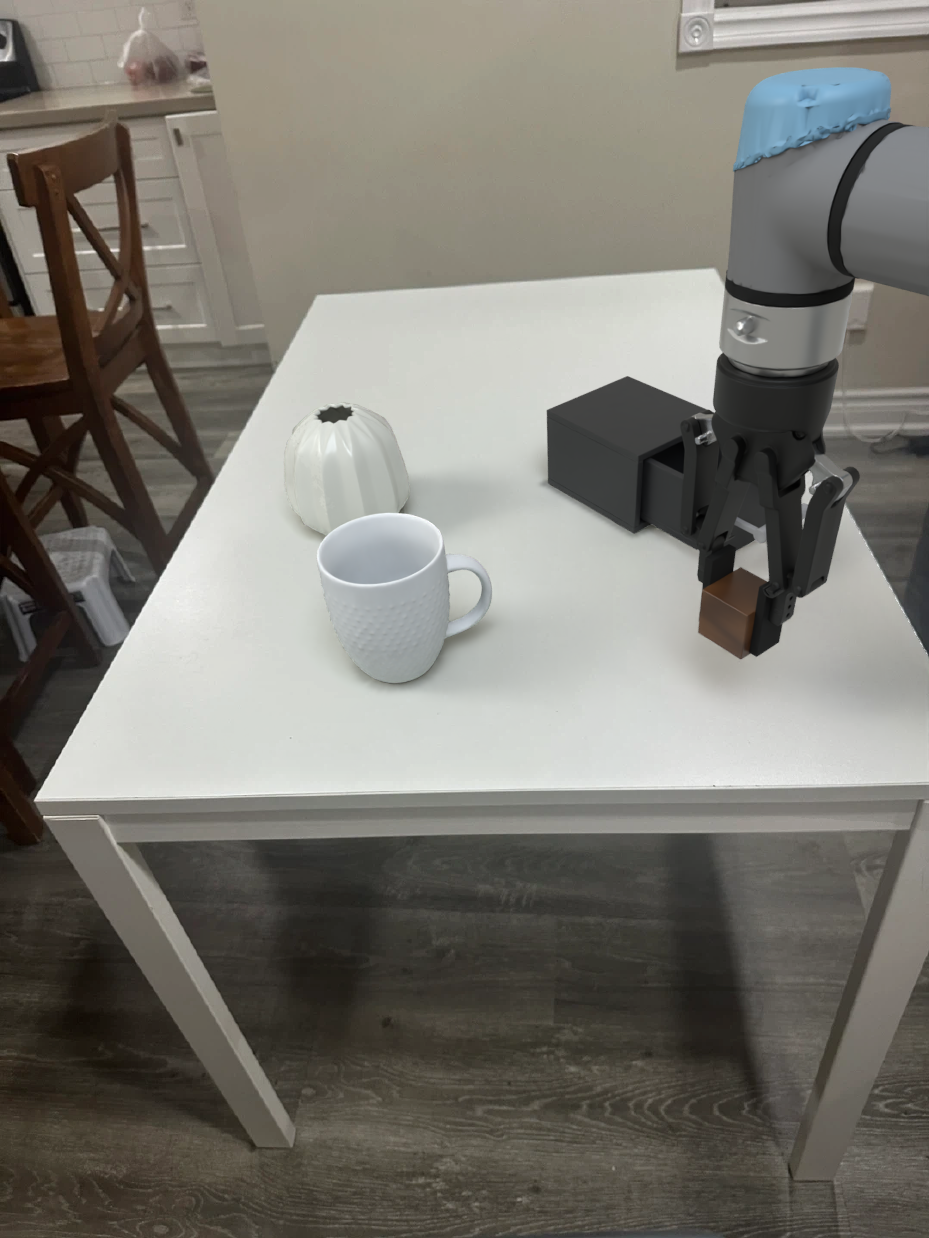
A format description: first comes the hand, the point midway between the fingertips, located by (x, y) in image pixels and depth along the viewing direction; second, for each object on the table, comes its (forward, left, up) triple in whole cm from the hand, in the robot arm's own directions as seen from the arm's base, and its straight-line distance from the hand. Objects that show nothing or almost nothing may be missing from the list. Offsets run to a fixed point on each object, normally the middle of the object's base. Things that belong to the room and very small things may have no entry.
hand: (738, 631), depth 70 cm
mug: (+25, +14, -7) cm, 30 cm away
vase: (+48, +1, -7) cm, 49 cm away
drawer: (+14, -21, -6) cm, 26 cm away
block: (0, 0, 0) cm, 0 cm away
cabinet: (+26, -23, -7) cm, 36 cm away
